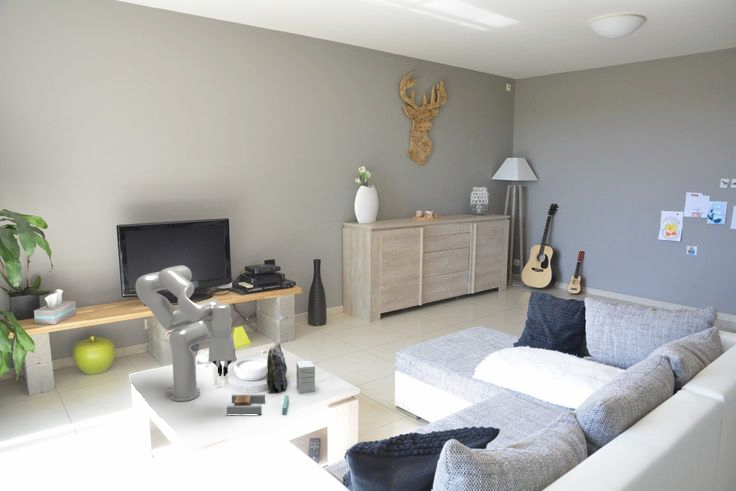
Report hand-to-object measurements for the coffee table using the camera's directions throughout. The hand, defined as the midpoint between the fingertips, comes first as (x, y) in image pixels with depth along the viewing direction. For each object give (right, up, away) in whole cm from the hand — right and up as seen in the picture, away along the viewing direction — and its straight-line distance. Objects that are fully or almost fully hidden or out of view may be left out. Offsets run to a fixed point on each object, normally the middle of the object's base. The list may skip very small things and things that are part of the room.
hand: (222, 374), depth 217 cm
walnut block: (+8, -15, +3) cm, 17 cm away
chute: (+9, -15, +3) cm, 18 cm away
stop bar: (+26, -15, +4) cm, 30 cm away
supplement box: (+32, -13, +22) cm, 41 cm away
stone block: (+19, -12, +26) cm, 34 cm away
